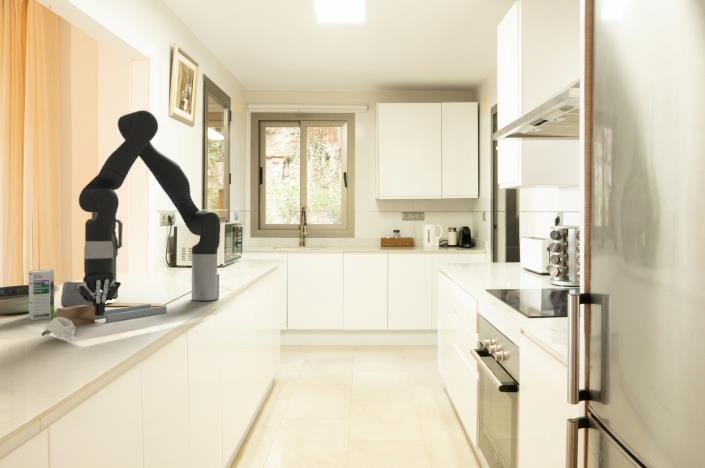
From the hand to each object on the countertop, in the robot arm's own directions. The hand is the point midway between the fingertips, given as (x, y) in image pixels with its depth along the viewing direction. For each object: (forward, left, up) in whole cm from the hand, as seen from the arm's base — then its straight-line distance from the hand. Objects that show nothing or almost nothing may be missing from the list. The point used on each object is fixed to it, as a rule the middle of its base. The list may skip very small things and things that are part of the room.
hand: (98, 315), depth 142 cm
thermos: (-18, -27, -2) cm, 32 cm away
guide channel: (-10, 0, -2) cm, 10 cm away
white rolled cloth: (+17, +11, -2) cm, 20 cm away
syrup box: (+7, -18, -2) cm, 19 cm away
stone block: (-5, -18, -2) cm, 19 cm away
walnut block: (+6, 0, -2) cm, 7 cm away
